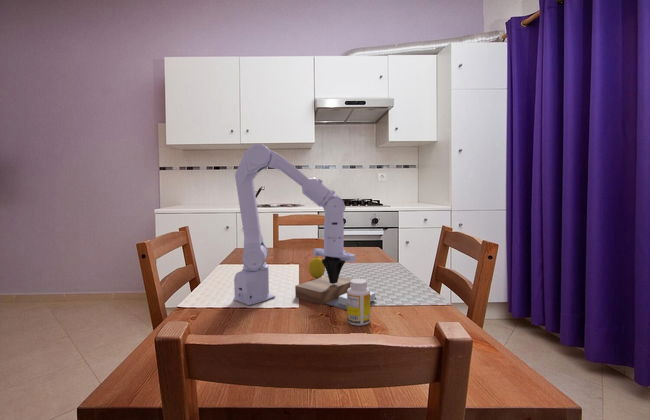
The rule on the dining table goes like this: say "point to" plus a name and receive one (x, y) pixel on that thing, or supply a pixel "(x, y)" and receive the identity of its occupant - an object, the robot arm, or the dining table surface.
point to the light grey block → (344, 298)
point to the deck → (322, 290)
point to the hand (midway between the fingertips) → (333, 282)
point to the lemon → (316, 268)
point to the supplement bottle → (358, 303)
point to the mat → (337, 304)
